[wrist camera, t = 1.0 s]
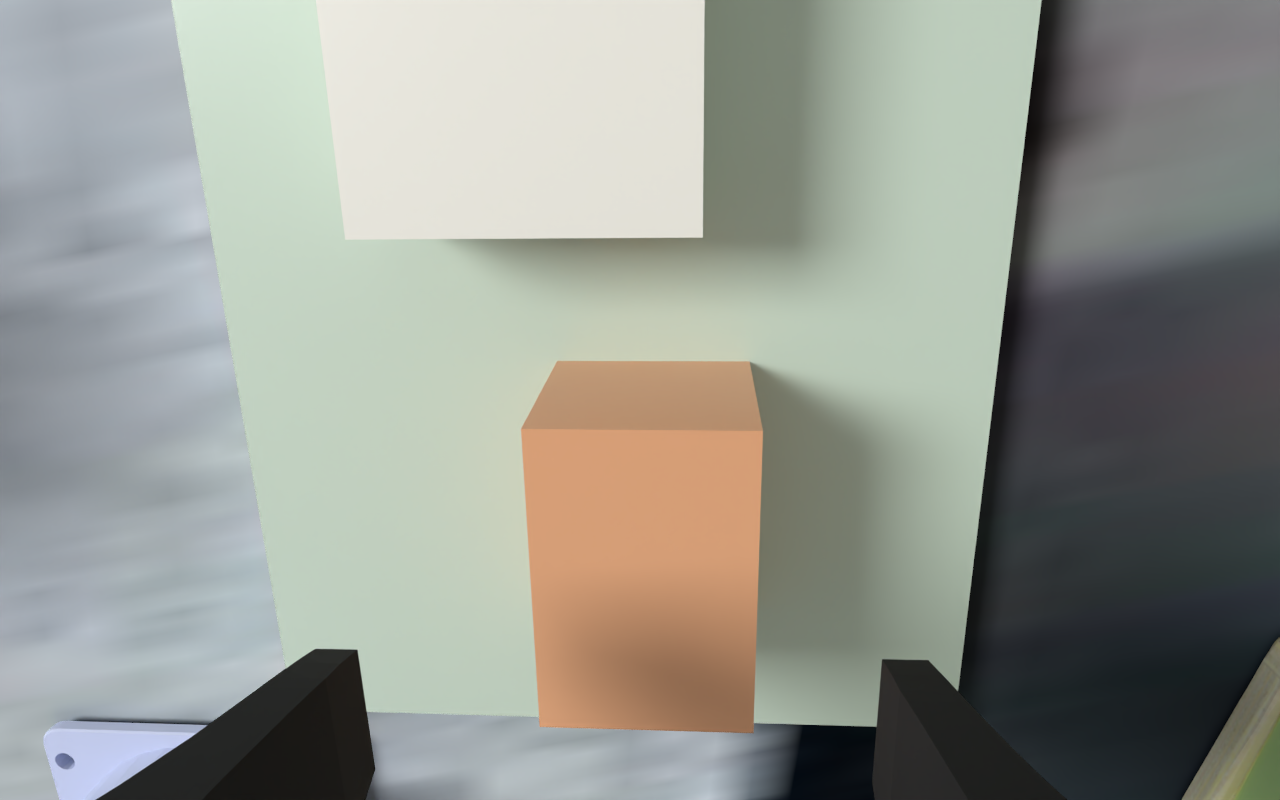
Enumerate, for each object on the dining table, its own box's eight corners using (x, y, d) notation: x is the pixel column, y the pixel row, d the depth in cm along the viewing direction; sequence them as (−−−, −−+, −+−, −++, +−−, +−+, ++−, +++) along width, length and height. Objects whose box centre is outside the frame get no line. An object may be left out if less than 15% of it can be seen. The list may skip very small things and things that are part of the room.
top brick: (742, 613, 20) (753, 733, 16) (569, 609, 20) (539, 726, 17) (749, 361, 18) (763, 430, 14) (557, 361, 18) (520, 428, 15)
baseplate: (944, 706, 22) (953, 729, 21) (306, 689, 23) (292, 710, 22) (1074, -416, 14) (1095, -444, 14) (133, -368, 15) (103, -391, 15)
